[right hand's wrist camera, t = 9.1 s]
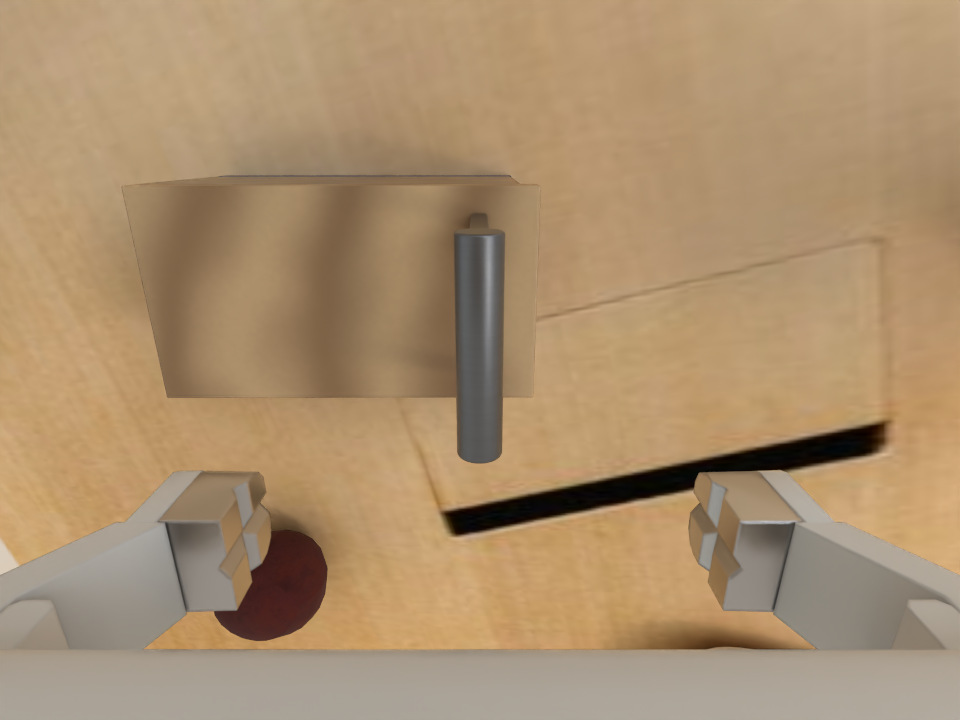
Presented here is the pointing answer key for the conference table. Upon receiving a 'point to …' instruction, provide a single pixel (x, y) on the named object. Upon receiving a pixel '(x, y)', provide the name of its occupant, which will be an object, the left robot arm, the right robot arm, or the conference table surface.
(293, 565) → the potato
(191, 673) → the right robot arm
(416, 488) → the conference table surface
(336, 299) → the lid
